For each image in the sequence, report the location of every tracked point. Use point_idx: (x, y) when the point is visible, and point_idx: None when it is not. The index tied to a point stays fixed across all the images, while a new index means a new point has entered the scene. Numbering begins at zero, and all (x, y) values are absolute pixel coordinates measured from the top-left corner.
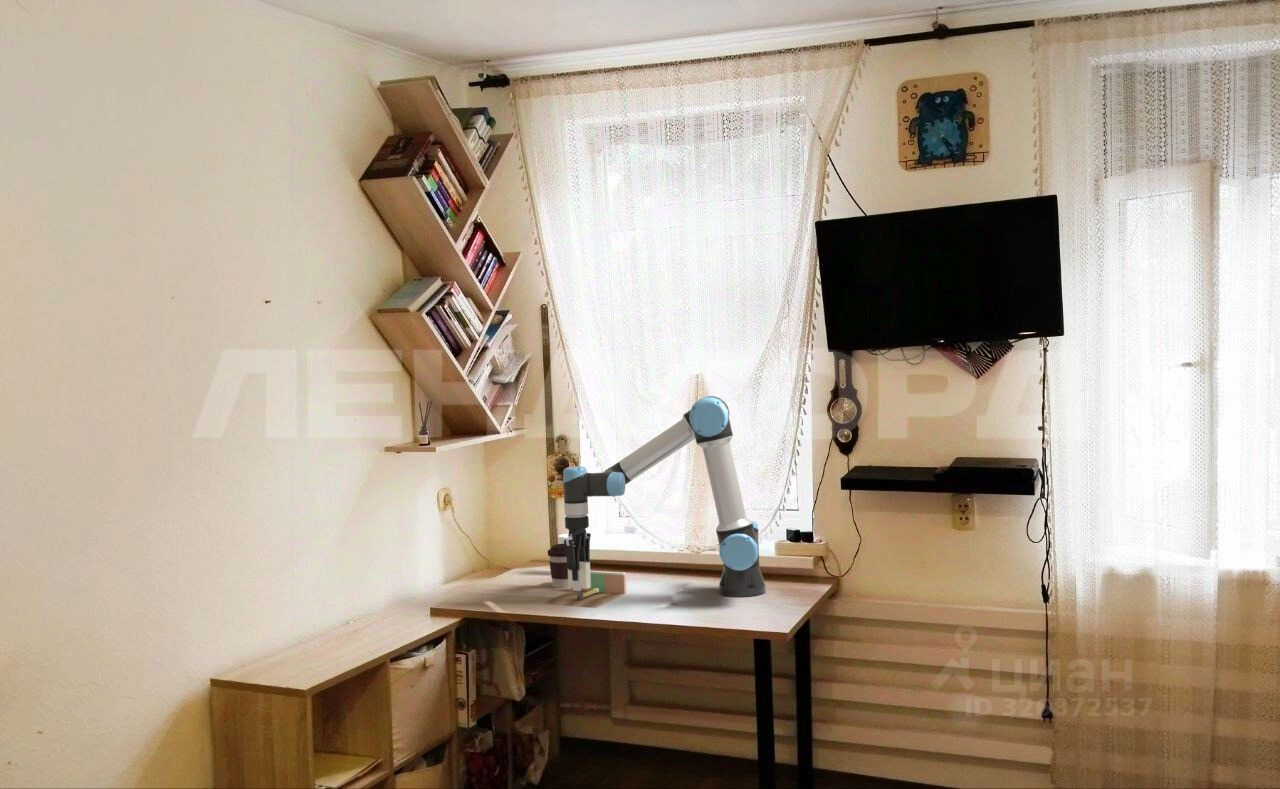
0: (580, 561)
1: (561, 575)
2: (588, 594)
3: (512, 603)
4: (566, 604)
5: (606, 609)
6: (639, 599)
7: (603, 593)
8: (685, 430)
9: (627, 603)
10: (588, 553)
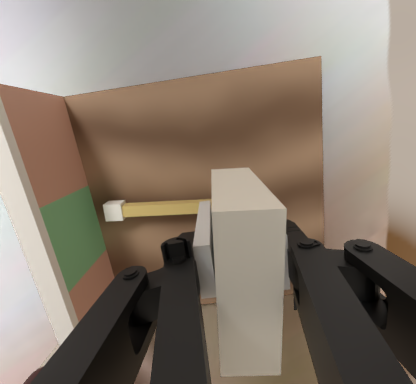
0: (201, 313)
1: None
2: (177, 201)
3: (302, 374)
4: (309, 203)
5: (267, 42)
6: (64, 13)
7: (105, 181)
8: None
9: (145, 20)
10: (92, 336)
